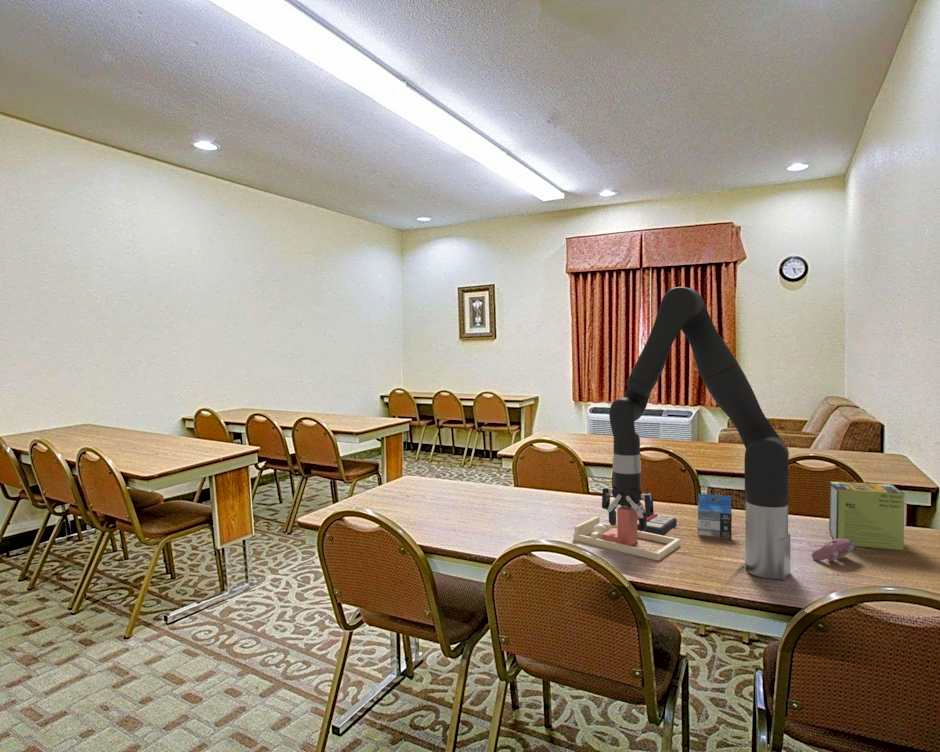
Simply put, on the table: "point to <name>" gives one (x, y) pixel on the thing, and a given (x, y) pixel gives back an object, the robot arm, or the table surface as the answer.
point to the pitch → (587, 529)
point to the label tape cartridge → (715, 516)
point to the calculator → (658, 524)
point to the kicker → (624, 527)
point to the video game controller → (834, 550)
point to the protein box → (867, 514)
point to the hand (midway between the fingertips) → (627, 527)
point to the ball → (600, 529)
